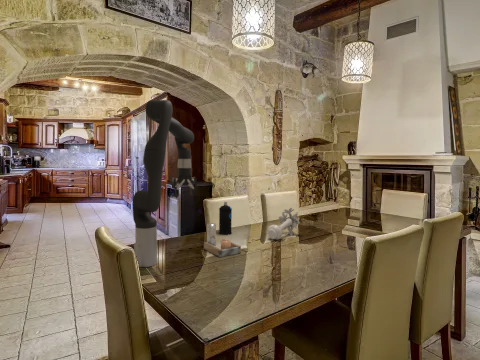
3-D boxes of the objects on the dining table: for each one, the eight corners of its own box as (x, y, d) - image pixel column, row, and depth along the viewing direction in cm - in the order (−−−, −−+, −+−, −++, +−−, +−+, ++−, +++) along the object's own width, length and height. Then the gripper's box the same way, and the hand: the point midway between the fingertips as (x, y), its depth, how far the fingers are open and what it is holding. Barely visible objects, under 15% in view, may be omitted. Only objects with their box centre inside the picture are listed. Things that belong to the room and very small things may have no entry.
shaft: (209, 247, 171) (209, 225, 170) (205, 245, 175) (205, 223, 174) (217, 246, 174) (217, 224, 173) (213, 244, 178) (213, 222, 177)
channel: (219, 257, 155) (219, 250, 155) (204, 248, 168) (204, 242, 168) (240, 253, 162) (240, 246, 162) (223, 245, 175) (224, 239, 175)
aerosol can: (220, 235, 197) (220, 203, 195) (217, 232, 205) (217, 201, 203) (233, 234, 199) (233, 202, 197) (230, 231, 207) (230, 200, 205)
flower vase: (279, 252, 186) (302, 234, 203) (280, 225, 179) (303, 208, 196) (262, 244, 194) (285, 227, 211) (262, 218, 187) (286, 202, 204)
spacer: (224, 254, 159) (224, 243, 158) (218, 252, 163) (219, 240, 163) (232, 253, 162) (232, 241, 161) (227, 250, 166) (227, 239, 165)
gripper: (175, 167, 171) (175, 197, 172) (199, 167, 179) (199, 195, 180) (169, 167, 177) (169, 196, 178) (193, 166, 185) (193, 194, 186)
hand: (184, 195), depth 179 cm, fingers open, 8 cm apart
